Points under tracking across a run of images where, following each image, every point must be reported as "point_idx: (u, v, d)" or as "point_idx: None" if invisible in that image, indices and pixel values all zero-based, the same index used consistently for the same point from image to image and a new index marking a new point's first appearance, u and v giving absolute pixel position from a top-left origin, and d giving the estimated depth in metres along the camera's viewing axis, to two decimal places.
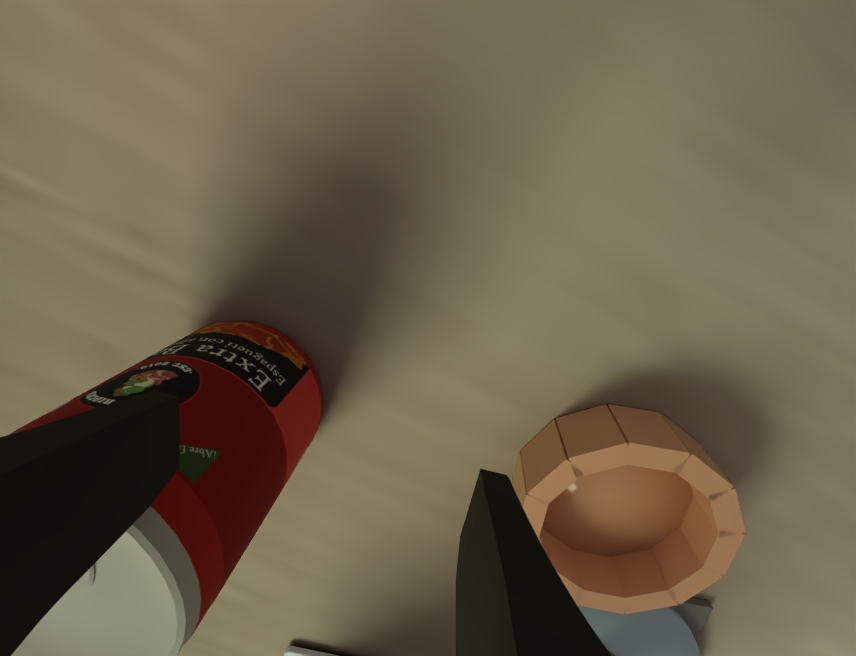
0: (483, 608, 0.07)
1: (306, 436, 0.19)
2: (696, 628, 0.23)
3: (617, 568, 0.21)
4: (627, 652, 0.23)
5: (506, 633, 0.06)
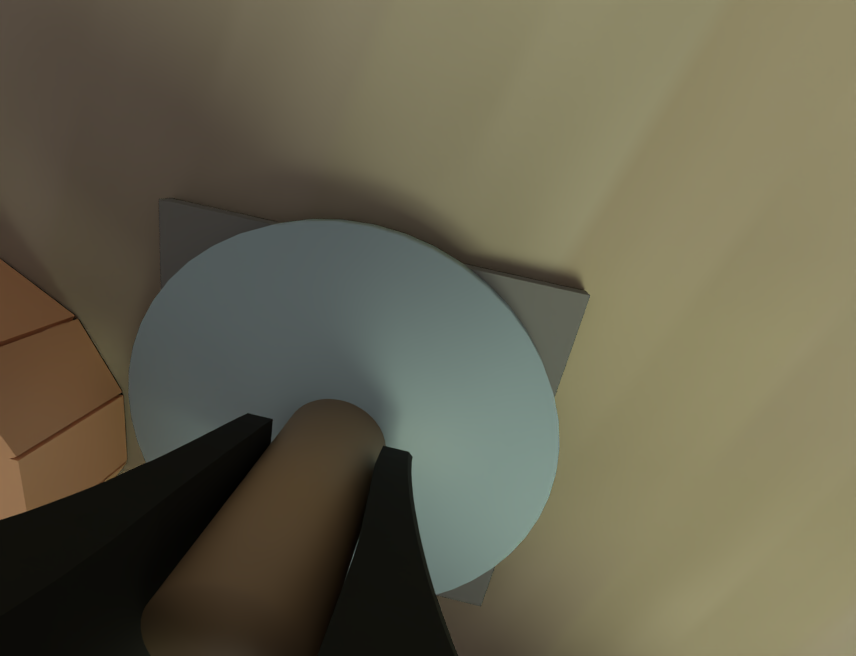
0: None
1: None
2: (226, 226, 0.10)
3: None
4: (288, 381, 0.10)
5: None
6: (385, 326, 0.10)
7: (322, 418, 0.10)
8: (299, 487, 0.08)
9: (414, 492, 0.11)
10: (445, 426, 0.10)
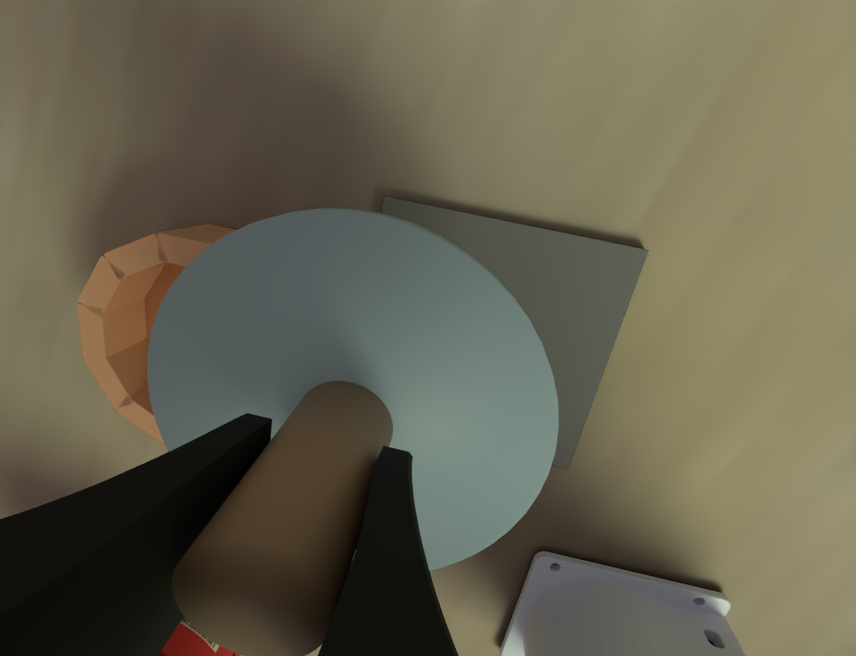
0: None
1: None
2: (424, 212, 0.16)
3: None
4: (300, 363, 0.11)
5: None
6: (393, 311, 0.10)
7: (333, 398, 0.10)
8: (314, 460, 0.08)
9: (420, 470, 0.12)
10: (449, 407, 0.11)
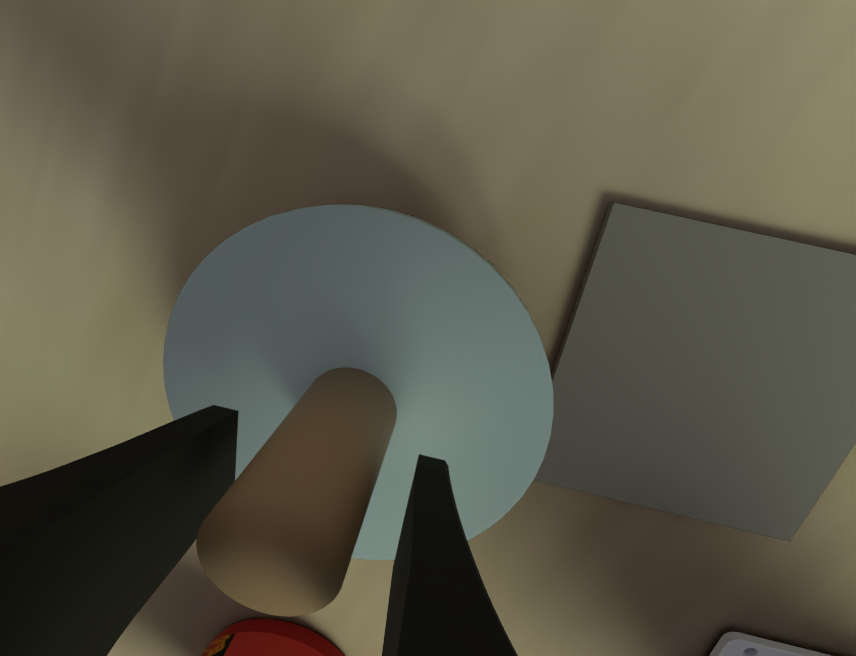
0: (400, 588, 0.07)
1: None
2: (666, 224, 0.12)
3: None
4: (310, 351, 0.11)
5: (403, 607, 0.06)
6: (399, 301, 0.11)
7: (342, 382, 0.11)
8: (326, 434, 0.09)
9: None
10: (451, 393, 0.11)
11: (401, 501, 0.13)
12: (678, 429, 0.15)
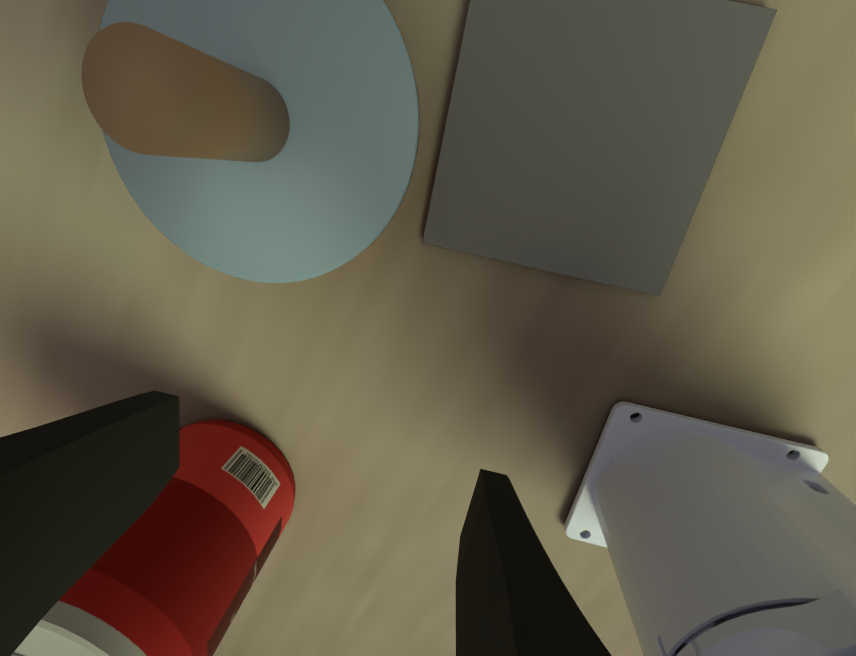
0: (482, 609, 0.07)
1: (204, 448, 0.20)
2: None
3: None
4: None
5: (506, 633, 0.06)
6: (283, 2, 0.13)
7: None
8: (201, 51, 0.11)
9: (313, 163, 0.14)
10: (332, 95, 0.14)
11: (300, 215, 0.15)
12: (553, 182, 0.17)
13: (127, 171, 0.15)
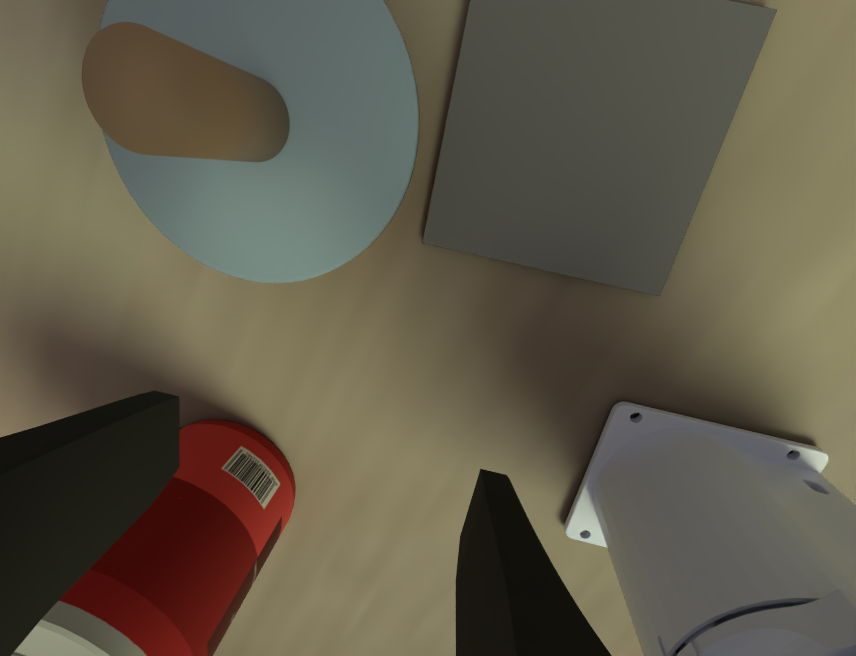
0: (482, 609, 0.07)
1: (204, 448, 0.20)
2: None
3: None
4: None
5: (506, 633, 0.06)
6: (283, 2, 0.13)
7: None
8: (201, 51, 0.11)
9: (313, 163, 0.14)
10: (332, 95, 0.14)
11: (300, 215, 0.15)
12: (553, 182, 0.17)
13: (127, 171, 0.15)
